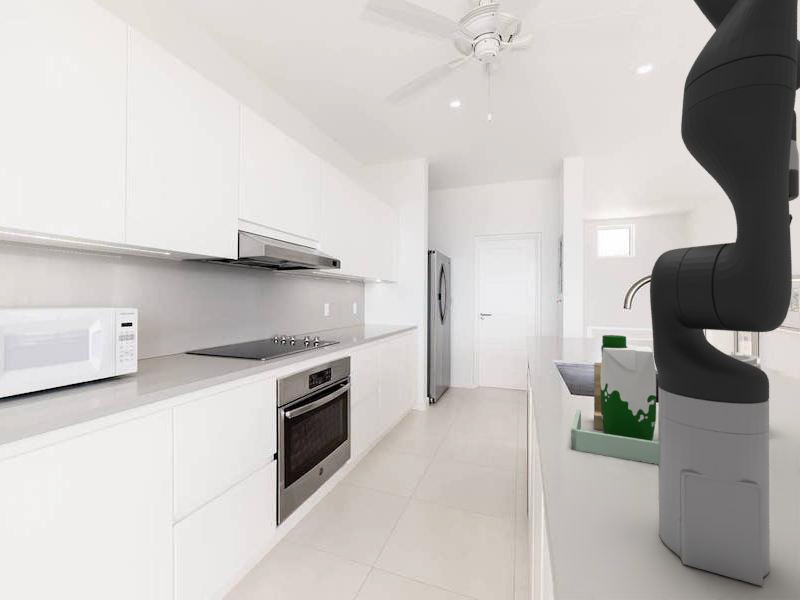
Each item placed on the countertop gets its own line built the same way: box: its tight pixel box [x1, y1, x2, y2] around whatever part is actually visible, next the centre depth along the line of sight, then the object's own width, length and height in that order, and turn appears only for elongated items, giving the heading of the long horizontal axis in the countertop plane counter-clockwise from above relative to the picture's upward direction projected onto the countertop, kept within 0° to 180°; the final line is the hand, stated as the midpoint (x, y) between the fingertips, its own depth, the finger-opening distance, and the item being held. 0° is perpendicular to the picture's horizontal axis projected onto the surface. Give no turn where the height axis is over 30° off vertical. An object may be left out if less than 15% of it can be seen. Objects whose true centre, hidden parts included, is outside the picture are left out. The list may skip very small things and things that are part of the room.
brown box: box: [593, 362, 604, 432], centre depth 77 cm, size 7×10×13 cm
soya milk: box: [600, 334, 657, 441], centre depth 71 cm, size 9×9×20 cm
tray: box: [570, 409, 659, 466], centre depth 68 cm, size 14×19×4 cm
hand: (766, 276), depth 63 cm, fingers closed
